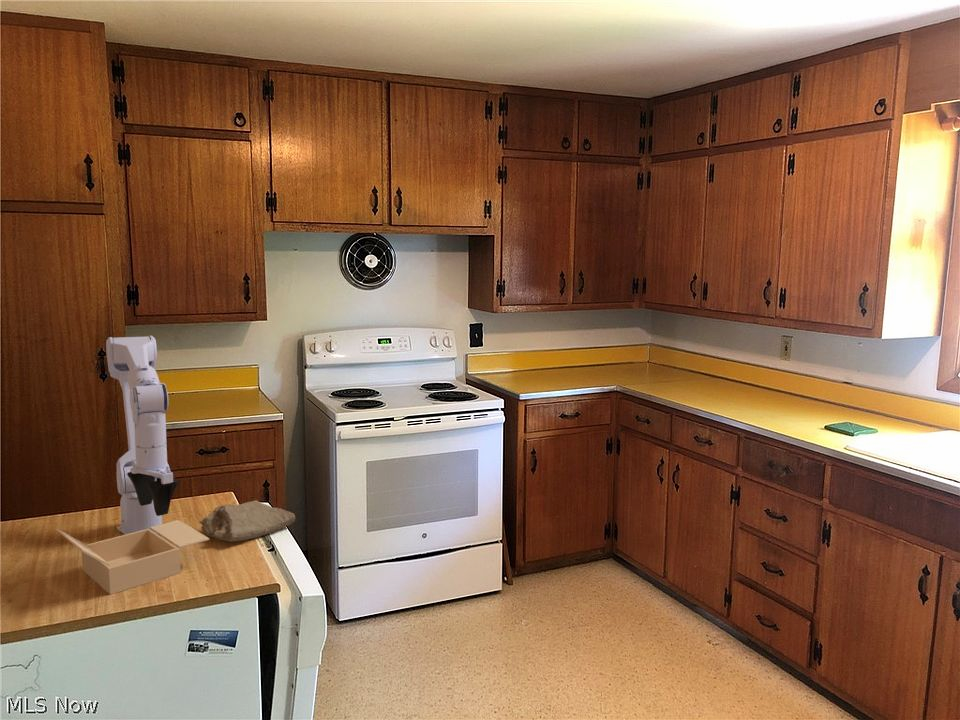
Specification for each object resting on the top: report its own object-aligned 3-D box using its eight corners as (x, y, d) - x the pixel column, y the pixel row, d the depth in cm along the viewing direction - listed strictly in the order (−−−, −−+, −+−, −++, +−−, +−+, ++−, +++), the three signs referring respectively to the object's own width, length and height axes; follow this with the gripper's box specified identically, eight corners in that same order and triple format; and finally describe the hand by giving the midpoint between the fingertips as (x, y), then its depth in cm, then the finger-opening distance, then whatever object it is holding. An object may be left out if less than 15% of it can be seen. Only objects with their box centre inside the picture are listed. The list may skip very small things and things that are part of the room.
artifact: (187, 536, 163) (227, 558, 154) (184, 506, 161) (224, 526, 152) (257, 508, 177) (297, 526, 168) (255, 480, 175) (295, 496, 166)
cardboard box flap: (82, 542, 143) (81, 544, 142) (56, 528, 139) (55, 529, 139) (109, 564, 133) (108, 566, 133) (82, 549, 130) (81, 551, 130)
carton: (82, 570, 143) (81, 544, 143) (179, 543, 157) (178, 519, 157) (110, 594, 134) (108, 567, 133) (210, 563, 148) (209, 538, 147)
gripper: (115, 440, 148) (119, 504, 150) (146, 455, 138) (149, 524, 140) (150, 434, 153) (153, 496, 155) (182, 449, 143) (184, 515, 146)
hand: (153, 509), depth 148 cm, fingers open, 7 cm apart
